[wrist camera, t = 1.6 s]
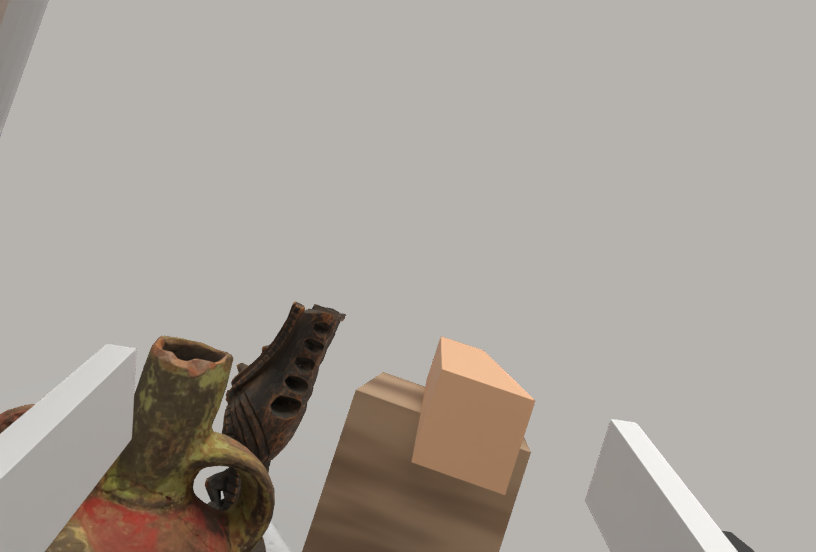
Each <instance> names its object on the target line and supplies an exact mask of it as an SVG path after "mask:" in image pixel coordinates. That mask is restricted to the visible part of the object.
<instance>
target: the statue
mask: <svg viewBox="0 0 816 552" xmlns="http://www.w3.org/2000/svg"><path fill="white" fill-rule="evenodd" d="M345 316H346V314H339V312H338V311H336V310H334V309H331V308H325V307H321V306H319V305H316V304H314V306H313V308H312V309H308V310H305V307H304V306H303V305H302V304H300V303H298V302H294V303H293V305H292V307H291V310H290V313H289V316H288V318H287V320H286V321H285V323H284V325H283V327H282V328H281V330H280V331H279V333H278V334H277V336H276V338H275V339H274V341H273V342H272V343H271V344H270V345H268V346H263V347H262V353H261V355H260V356H259V357H258V358H257V359H256V360H255V361H254V362H253V363H252V364H250V365H249V366H248V365H245V364H243V363H240V364H238V365H237V369H238V371H239V374H238V375H237V376H235V377H234V379H233V380H232V382H231V384H232V388H231V389H230V390H228V391H227V393H226V396H227V397H226V401H227V402H228V406H227V407H226V408H227V409H226V410H225V415H224V422H223V430H222V434H224V435H227V436H229V437H231V438H233V439H234V440H236V441H238V442H239V443H241V444H242V445H243V446H245V447H246V448H248V449H249V450H250V451H251V452H252V453H253V454H254V455H255V456H256V457H257V458H258V459H259V460H260V461H261V463H262V464H263V466H264V467H265V468H266V470H267V472H269V466H270V462H271V460H272V459H273V458H274V457H276V456H277V455H278V454H279V453H280V451H282V450H283V448H284V447H285V446H286V445H287V444H288V442H289V441H290V440H291V438H292V437H293V435H294V433H295V431H296V430H297V428H298V426H299V424H300V422H301V420H302V418H303V416H304V414H305V411H306V408H307V401H308V400H309V398H310V397H311V395H312V392H313V386H314V384H315V381H316V378H317V375H318V370H319V366H320V364H321V363H322V361H323V359H324V357H325V354H326V351H327V348H328V347H329V345H330V344H331V342H332V339H333V338H334V336H335V332H336V330H337V328H338V325H339V323H340V321H343V320H344V319H345ZM205 487H206V490H207V492H208V495H209V497H210V499H211V502H209V503H208V504H207V505H209V506H211V507H213V508H215V509H218V510H220V511H225V510H227V509H228V508H229V507H231V506H232V505H233V504H234V502H235V500H236V498H237V496H238V493H239V490H240V487H241V479H240V475H239V474H238V472H237V470H235V469H234V468H233V467H229V468H228V469H226V470H225V471H223V472H220V473H217V474H214V475H212V476H211V477H209V478H207V479H206V482H205ZM221 491H223V494H224V499H222V500H221ZM251 552H266V548H265V544H264V540H263V537H262V538H261V540H260V541H259V542H258V544H257V545H256V546H255V548H254V549H253V550H252V551H251Z"/></svg>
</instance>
